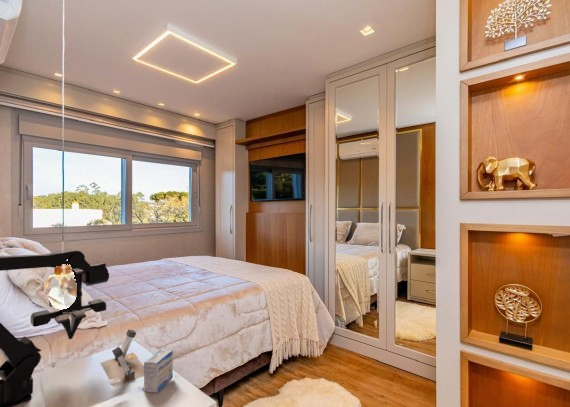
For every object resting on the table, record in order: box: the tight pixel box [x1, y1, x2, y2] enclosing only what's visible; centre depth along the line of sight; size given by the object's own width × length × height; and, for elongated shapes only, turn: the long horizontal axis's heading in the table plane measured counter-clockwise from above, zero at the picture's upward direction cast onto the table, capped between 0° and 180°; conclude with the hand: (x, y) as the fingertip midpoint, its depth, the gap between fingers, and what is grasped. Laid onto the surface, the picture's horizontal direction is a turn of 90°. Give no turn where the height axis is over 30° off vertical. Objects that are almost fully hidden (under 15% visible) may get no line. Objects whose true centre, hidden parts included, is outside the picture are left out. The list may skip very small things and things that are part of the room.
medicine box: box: [143, 349, 174, 394], centre depth 87 cm, size 8×4×9 cm, turn 168°
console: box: [100, 352, 144, 388], centre depth 93 cm, size 10×18×4 cm, turn 43°
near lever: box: [111, 346, 131, 377], centre depth 88 cm, size 2×3×9 cm, turn 44°
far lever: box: [120, 329, 137, 358], centre depth 99 cm, size 2×3×9 cm, turn 43°
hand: (70, 338), depth 91 cm, fingers closed
